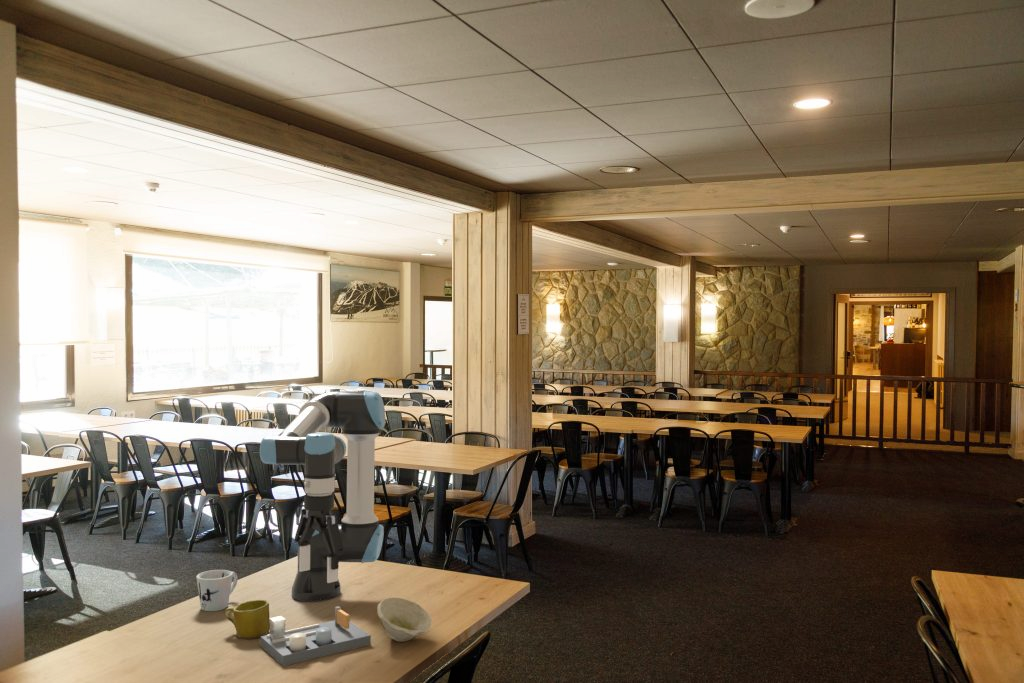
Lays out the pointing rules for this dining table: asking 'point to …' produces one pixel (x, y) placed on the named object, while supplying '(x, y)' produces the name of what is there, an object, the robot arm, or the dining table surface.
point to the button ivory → (297, 642)
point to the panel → (340, 642)
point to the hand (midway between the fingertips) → (318, 576)
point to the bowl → (403, 618)
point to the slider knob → (277, 627)
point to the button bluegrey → (323, 636)
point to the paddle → (341, 618)
